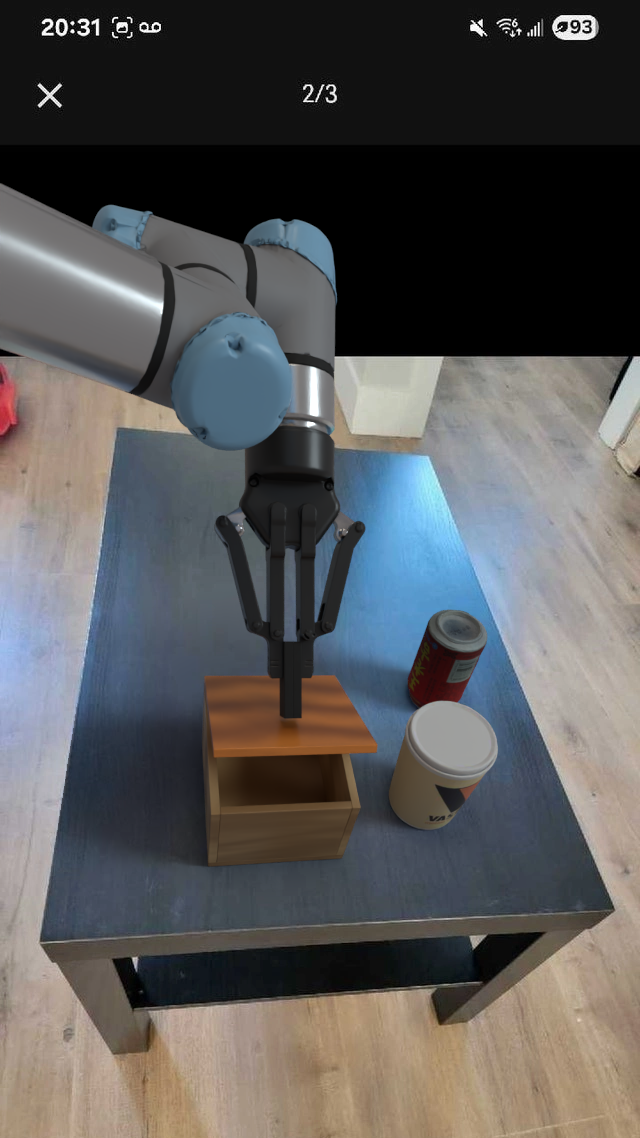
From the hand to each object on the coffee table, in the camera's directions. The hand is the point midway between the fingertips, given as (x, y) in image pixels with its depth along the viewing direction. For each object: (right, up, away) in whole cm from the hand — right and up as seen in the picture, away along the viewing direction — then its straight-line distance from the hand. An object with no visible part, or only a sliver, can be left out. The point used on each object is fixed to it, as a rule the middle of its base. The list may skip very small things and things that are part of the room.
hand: (290, 716), depth 59 cm
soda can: (+17, +2, +28) cm, 32 cm away
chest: (-3, -9, +14) cm, 17 cm away
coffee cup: (+14, -10, +17) cm, 24 cm away
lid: (-1, 0, +4) cm, 4 cm away
